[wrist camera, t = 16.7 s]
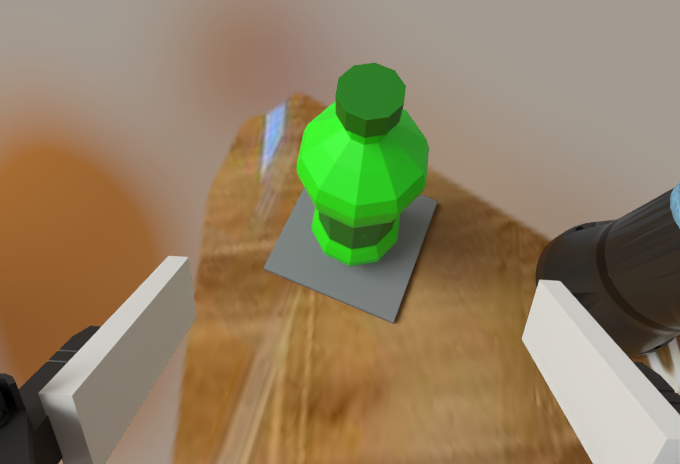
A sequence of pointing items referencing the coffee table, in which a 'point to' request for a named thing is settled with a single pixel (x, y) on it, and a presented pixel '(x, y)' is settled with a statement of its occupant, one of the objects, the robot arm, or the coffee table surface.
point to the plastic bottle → (362, 165)
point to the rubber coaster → (359, 280)
